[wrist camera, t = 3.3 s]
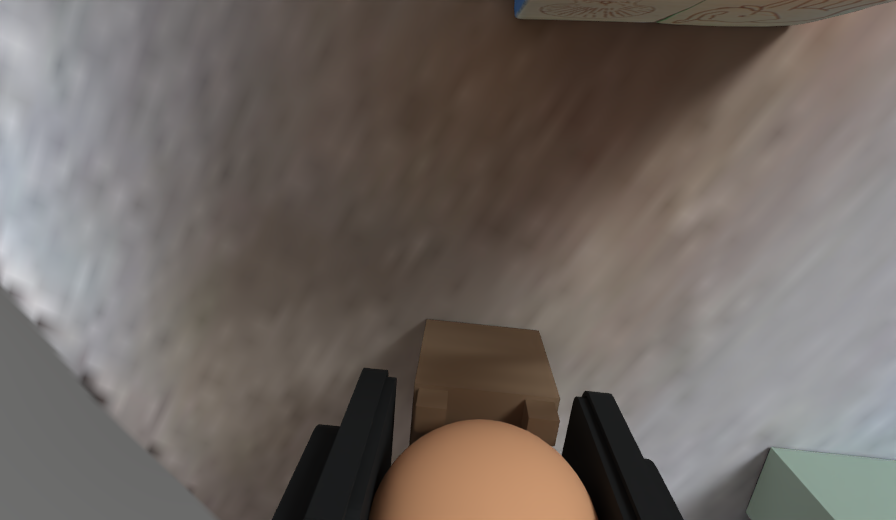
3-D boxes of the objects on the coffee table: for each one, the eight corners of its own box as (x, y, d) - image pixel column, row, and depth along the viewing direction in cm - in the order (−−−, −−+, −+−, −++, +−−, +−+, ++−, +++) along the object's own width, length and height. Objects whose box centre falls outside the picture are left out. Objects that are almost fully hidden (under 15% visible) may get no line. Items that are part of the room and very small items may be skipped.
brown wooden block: (538, 330, 12) (565, 417, 9) (522, 423, 13) (541, 534, 10) (426, 319, 12) (411, 400, 9) (418, 413, 13) (401, 519, 10)
